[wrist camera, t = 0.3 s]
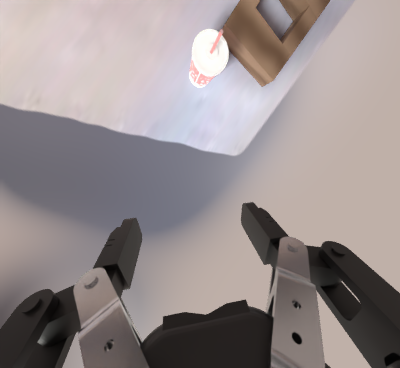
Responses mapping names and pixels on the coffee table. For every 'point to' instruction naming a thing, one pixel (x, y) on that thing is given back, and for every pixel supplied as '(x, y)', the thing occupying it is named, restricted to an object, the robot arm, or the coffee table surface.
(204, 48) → the beverage cup
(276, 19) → the coffee table surface
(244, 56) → the wooden cup holder
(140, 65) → the coffee table surface
